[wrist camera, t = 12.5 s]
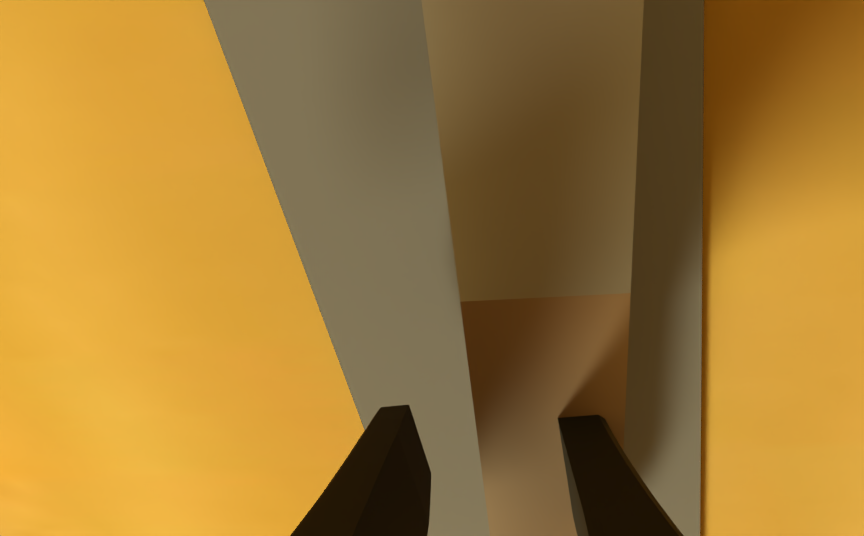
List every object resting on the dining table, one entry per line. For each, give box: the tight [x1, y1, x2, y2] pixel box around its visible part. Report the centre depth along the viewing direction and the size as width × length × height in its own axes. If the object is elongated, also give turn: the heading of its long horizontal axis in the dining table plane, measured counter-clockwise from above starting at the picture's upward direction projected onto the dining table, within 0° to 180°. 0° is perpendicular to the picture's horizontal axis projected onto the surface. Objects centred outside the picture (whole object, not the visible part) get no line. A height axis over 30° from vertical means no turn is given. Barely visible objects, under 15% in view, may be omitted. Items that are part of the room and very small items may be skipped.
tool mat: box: [204, 0, 704, 536], centre depth 14 cm, size 22×9×1 cm, turn 13°
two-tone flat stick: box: [421, 0, 644, 536], centre depth 11 cm, size 2×16×4 cm, turn 8°
